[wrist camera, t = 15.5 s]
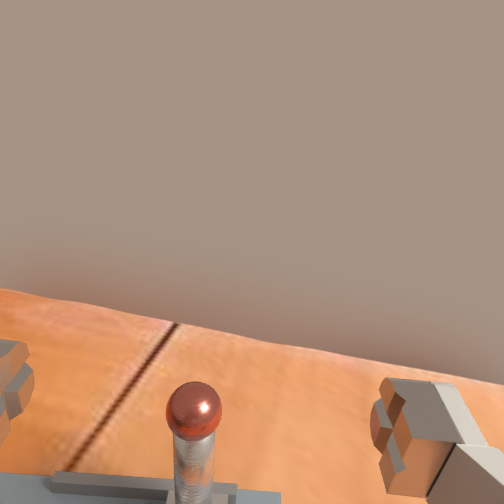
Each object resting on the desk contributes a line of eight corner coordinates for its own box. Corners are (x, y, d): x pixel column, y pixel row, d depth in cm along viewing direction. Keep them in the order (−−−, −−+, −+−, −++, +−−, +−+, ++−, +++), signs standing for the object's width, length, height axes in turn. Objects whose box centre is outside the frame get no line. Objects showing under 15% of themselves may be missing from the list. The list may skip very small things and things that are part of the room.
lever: (215, 648, 26) (224, 494, 19) (117, 641, 26) (89, 485, 19) (227, 509, 34) (236, 365, 27) (152, 503, 34) (141, 358, 27)
